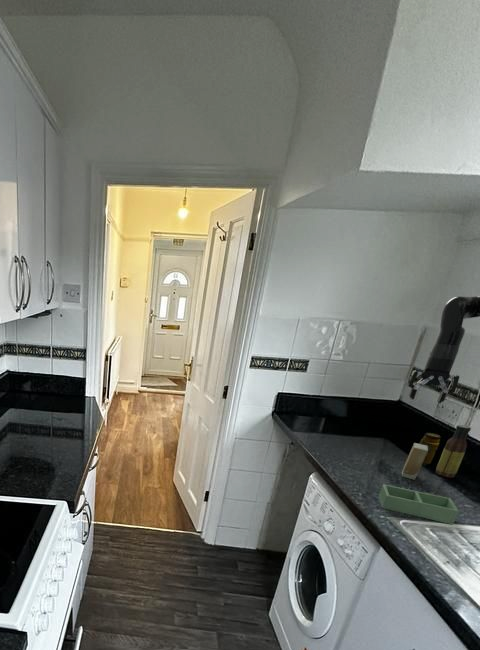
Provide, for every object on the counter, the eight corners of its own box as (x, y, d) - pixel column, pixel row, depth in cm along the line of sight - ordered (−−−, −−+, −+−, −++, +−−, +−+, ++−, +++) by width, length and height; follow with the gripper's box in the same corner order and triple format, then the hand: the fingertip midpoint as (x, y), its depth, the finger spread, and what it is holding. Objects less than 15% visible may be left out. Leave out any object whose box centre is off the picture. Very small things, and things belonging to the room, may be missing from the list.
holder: (445, 510, 133) (450, 498, 131) (452, 524, 125) (459, 511, 123) (378, 496, 140) (383, 484, 138) (381, 508, 132) (386, 495, 130)
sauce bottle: (456, 476, 160) (480, 428, 151) (450, 479, 156) (474, 430, 148) (436, 469, 165) (458, 422, 156) (430, 473, 161) (452, 425, 153)
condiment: (435, 464, 171) (447, 437, 166) (422, 466, 167) (435, 439, 162) (416, 457, 177) (428, 430, 171) (404, 459, 173) (415, 432, 168)
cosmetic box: (401, 471, 161) (413, 442, 156) (415, 474, 159) (427, 445, 154) (401, 476, 156) (413, 447, 151) (415, 480, 154) (428, 450, 149)
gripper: (421, 355, 147) (405, 400, 154) (470, 360, 142) (451, 406, 149) (416, 353, 154) (400, 395, 160) (463, 357, 149) (445, 401, 155)
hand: (425, 400), depth 154 cm, fingers open, 8 cm apart
